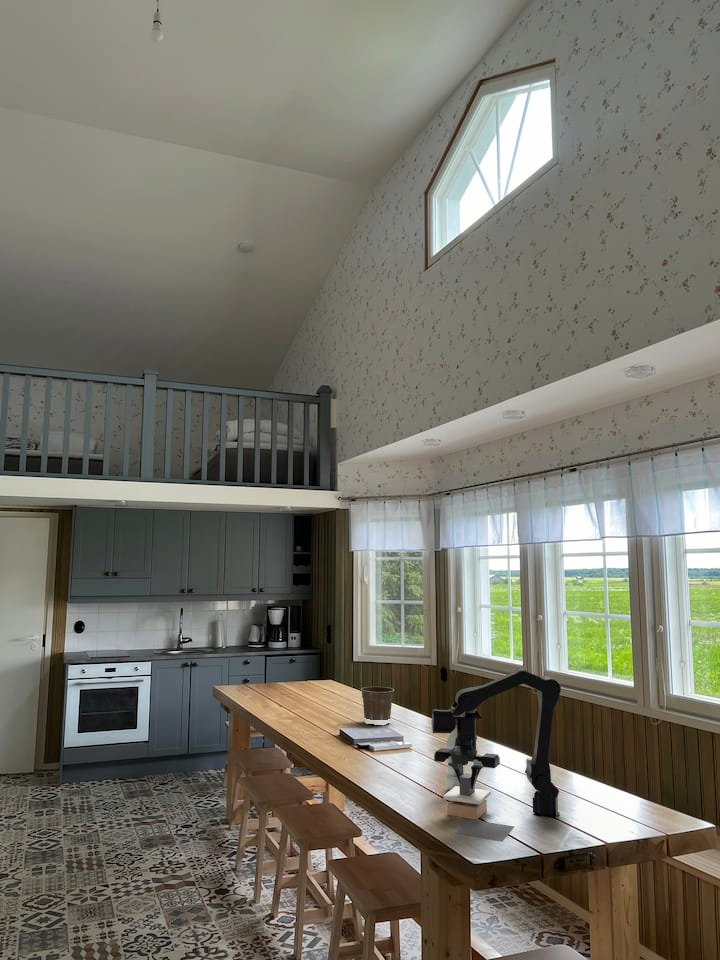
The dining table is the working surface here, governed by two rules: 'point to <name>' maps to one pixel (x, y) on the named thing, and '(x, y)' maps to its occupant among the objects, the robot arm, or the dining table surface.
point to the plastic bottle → (451, 775)
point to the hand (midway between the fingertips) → (467, 788)
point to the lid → (466, 792)
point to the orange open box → (467, 809)
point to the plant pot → (377, 702)
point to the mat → (485, 830)
